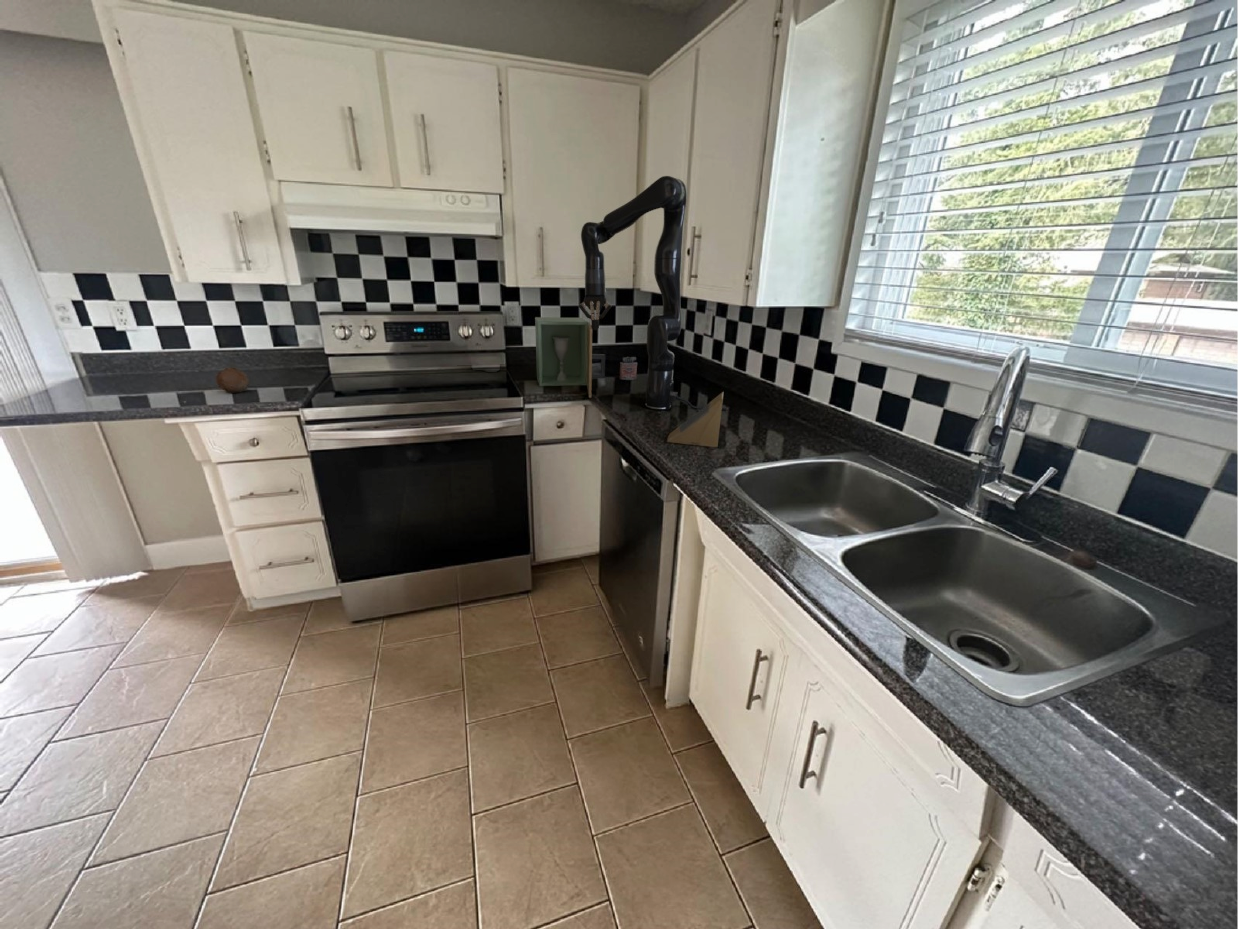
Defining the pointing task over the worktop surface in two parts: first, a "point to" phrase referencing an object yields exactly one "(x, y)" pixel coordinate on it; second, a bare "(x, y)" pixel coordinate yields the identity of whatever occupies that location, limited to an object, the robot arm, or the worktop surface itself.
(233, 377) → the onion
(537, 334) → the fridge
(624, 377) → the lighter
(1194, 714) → the worktop surface
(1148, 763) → the worktop surface
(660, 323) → the robot arm
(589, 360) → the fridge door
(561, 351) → the chalice
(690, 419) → the sandwich container
